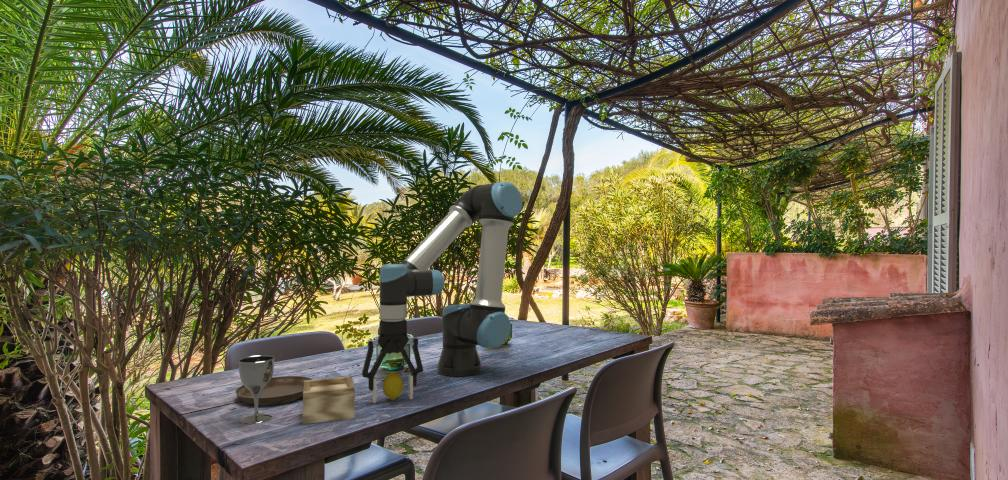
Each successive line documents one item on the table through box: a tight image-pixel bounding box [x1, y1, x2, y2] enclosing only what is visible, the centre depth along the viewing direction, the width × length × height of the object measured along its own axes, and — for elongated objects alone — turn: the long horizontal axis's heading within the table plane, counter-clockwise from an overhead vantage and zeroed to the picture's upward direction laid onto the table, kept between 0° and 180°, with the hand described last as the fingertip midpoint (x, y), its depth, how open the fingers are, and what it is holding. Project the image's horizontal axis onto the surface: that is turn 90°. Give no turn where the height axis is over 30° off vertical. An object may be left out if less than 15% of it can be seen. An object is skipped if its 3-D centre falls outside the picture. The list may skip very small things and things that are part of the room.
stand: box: [302, 375, 356, 425], centre depth 127 cm, size 12×12×8 cm
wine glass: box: [238, 354, 275, 425], centre depth 123 cm, size 8×8×15 cm
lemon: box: [382, 371, 404, 402], centre depth 137 cm, size 6×6×8 cm
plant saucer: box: [235, 375, 314, 406], centre depth 142 cm, size 21×21×3 cm
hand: (392, 399), depth 137 cm, fingers open, 9 cm apart
